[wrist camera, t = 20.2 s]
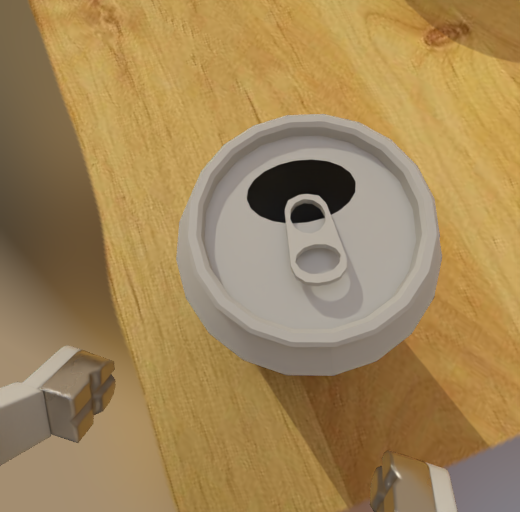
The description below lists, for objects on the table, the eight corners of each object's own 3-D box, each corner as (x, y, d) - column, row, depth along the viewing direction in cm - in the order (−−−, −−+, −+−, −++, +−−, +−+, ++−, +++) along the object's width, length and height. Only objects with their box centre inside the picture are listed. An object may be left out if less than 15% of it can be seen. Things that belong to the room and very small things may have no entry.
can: (347, 229, 21) (421, 66, 10) (378, 361, 19) (522, 349, 8) (220, 249, 21) (148, 112, 10) (236, 383, 19) (166, 404, 8)
